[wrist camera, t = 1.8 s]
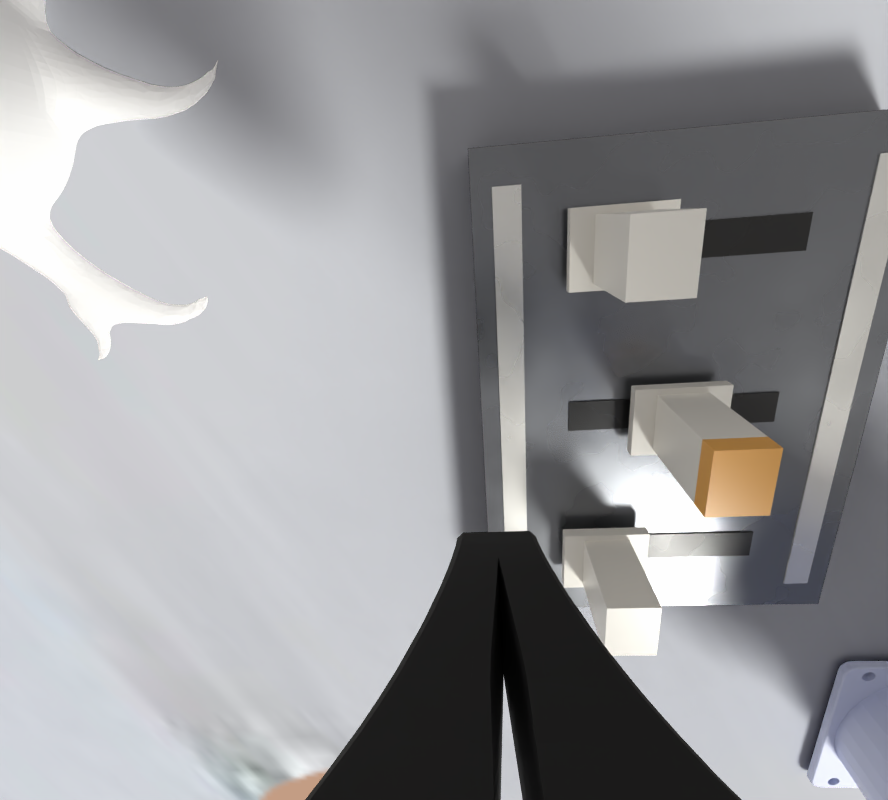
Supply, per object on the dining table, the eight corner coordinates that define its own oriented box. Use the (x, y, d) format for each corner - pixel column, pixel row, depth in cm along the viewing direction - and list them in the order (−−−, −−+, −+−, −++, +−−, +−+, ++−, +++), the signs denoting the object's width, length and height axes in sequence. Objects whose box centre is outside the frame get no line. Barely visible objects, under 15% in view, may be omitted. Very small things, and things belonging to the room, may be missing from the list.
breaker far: (645, 527, 16) (687, 601, 13) (641, 577, 17) (678, 660, 14) (562, 529, 17) (583, 603, 13) (562, 579, 17) (581, 660, 14)
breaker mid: (726, 380, 14) (815, 438, 11) (717, 446, 15) (796, 521, 11) (631, 385, 15) (685, 444, 11) (626, 450, 15) (675, 524, 12)
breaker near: (675, 199, 13) (742, 194, 10) (667, 283, 13) (726, 305, 10) (567, 208, 13) (598, 206, 10) (566, 290, 14) (594, 313, 11)
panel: (884, 118, 14) (950, 103, 12) (785, 566, 19) (818, 604, 18) (468, 156, 15) (467, 148, 13) (490, 572, 20) (491, 609, 19)
